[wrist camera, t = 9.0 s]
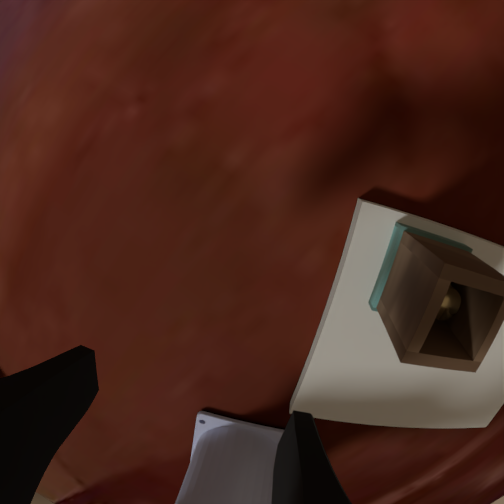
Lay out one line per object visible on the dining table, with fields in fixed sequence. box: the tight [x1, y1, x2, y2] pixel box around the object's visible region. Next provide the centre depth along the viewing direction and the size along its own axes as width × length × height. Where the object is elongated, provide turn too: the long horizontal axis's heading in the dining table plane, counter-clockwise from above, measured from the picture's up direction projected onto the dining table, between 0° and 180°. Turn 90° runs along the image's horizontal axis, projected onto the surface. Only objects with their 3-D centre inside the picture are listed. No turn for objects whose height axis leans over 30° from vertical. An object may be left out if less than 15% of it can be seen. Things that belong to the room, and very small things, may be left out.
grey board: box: [289, 198, 504, 428], centre depth 18 cm, size 15×19×1 cm
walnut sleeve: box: [368, 222, 504, 373], centre depth 13 cm, size 5×5×6 cm
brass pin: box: [436, 285, 461, 320], centre depth 14 cm, size 2×2×4 cm
